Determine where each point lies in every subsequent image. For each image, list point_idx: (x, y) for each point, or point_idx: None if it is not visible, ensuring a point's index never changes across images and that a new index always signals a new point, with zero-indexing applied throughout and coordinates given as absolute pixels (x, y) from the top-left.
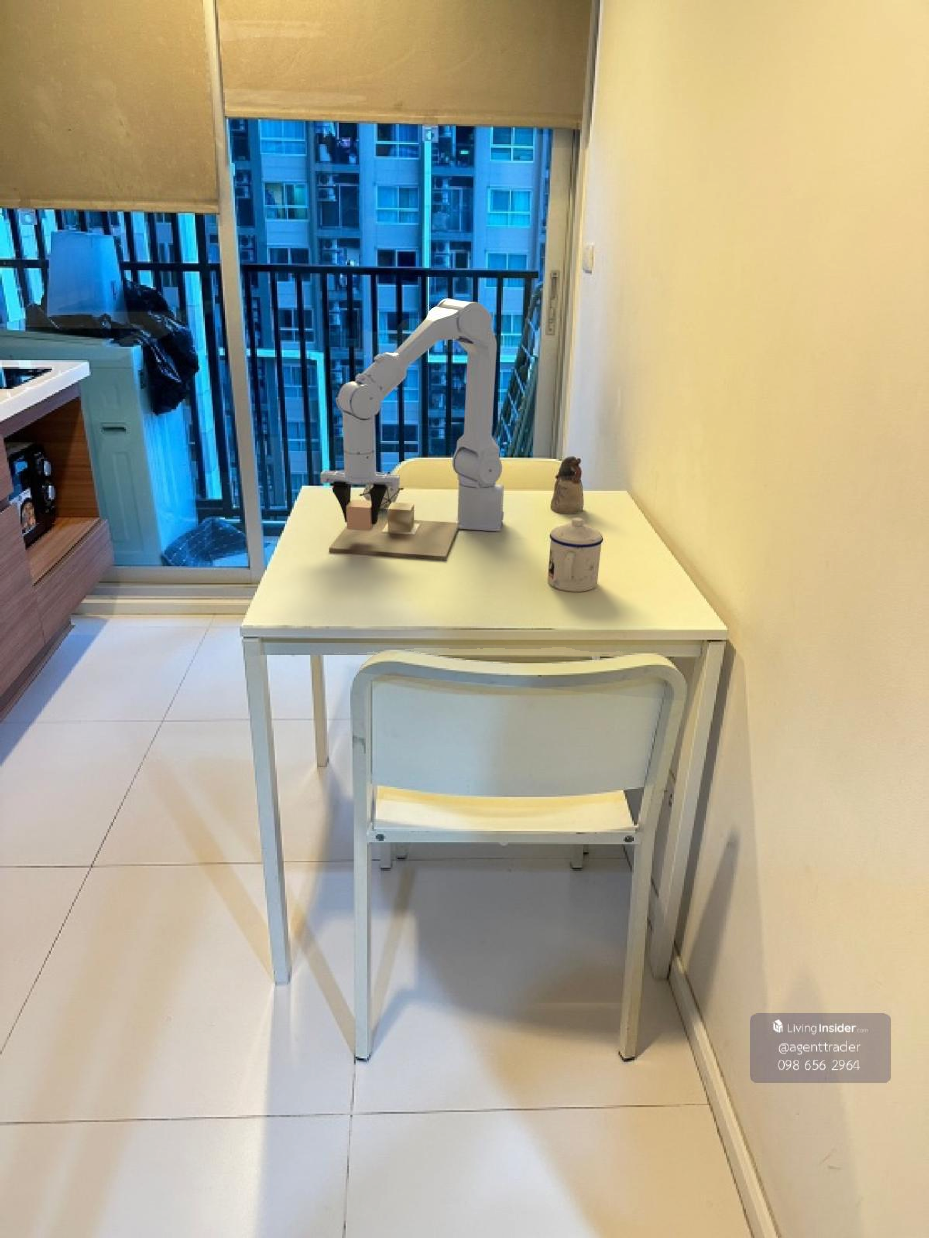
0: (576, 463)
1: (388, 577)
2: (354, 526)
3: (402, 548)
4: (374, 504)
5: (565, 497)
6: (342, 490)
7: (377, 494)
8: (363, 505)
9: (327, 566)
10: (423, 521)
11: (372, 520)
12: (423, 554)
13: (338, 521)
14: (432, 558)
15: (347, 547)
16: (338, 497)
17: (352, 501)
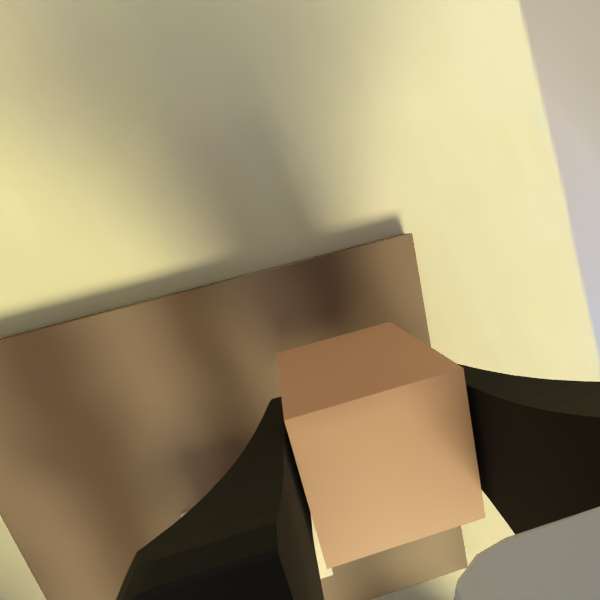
0: None
1: (39, 60)
2: (359, 337)
3: (141, 362)
4: (258, 464)
5: None
6: None
7: (187, 540)
8: (356, 446)
9: (340, 80)
10: None
11: (280, 401)
12: (19, 338)
13: (500, 515)
14: None
15: (348, 271)
16: (582, 385)
17: (466, 483)
